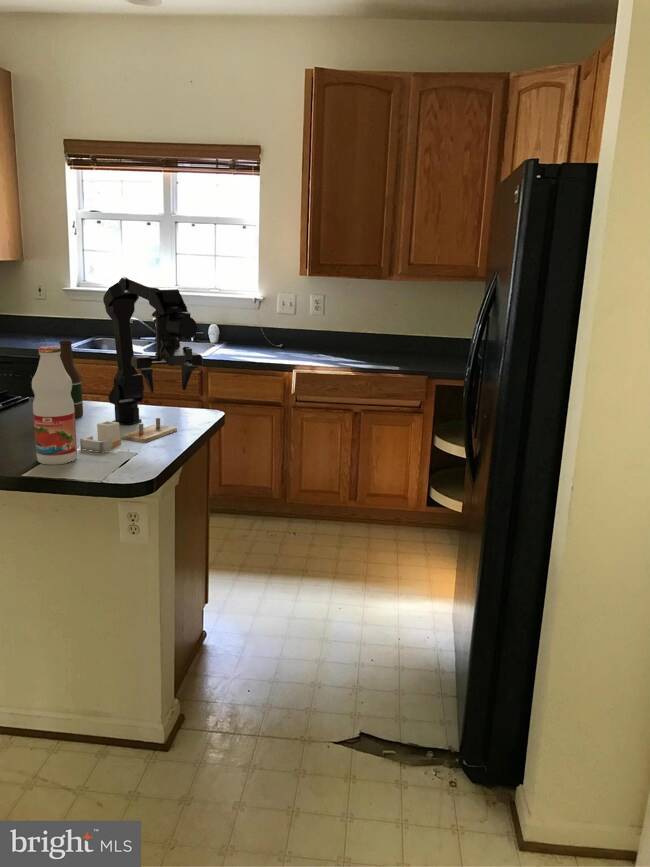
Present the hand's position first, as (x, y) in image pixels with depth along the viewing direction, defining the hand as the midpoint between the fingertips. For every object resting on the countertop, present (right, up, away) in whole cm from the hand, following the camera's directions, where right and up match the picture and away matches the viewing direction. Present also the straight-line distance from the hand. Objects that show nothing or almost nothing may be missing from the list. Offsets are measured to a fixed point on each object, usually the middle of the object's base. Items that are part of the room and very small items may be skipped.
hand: (168, 391), depth 192 cm
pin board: (-7, -12, +6) cm, 15 cm away
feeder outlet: (-17, -16, -10) cm, 25 cm away
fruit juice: (-23, -18, -20) cm, 36 cm away
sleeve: (-15, -15, -6) cm, 22 cm away
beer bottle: (-36, -7, +25) cm, 44 cm away
